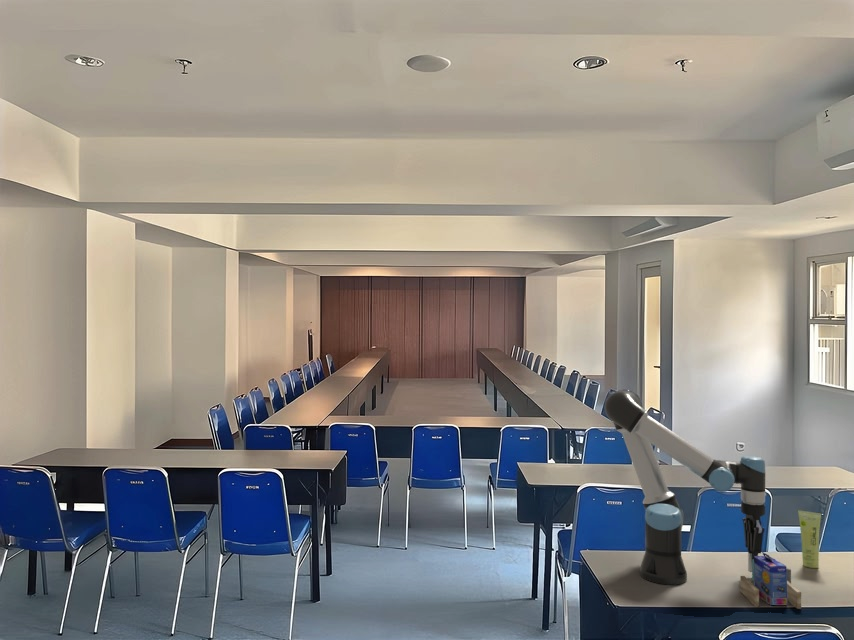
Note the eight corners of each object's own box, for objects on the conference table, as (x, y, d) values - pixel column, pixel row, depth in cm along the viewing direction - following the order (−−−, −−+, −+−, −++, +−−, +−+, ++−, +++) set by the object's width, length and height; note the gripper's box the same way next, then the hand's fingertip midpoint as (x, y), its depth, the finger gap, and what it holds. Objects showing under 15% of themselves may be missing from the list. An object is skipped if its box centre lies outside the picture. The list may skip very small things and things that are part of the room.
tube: (805, 568, 235) (805, 513, 236) (798, 563, 240) (797, 509, 241) (821, 568, 235) (821, 513, 235) (813, 564, 240) (813, 510, 240)
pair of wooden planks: (754, 606, 200) (754, 589, 201) (740, 591, 212) (740, 575, 213) (801, 608, 199) (801, 592, 199) (784, 593, 211) (784, 577, 211)
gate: (792, 593, 211) (792, 569, 212) (789, 593, 211) (789, 570, 211) (754, 579, 223) (754, 557, 223) (751, 580, 222) (751, 558, 223)
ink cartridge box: (752, 594, 210) (752, 548, 211) (769, 593, 211) (769, 548, 211) (770, 606, 201) (770, 558, 201) (788, 606, 201) (788, 558, 201)
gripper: (772, 507, 219) (772, 579, 219) (756, 498, 232) (757, 565, 232) (749, 506, 220) (749, 577, 220) (734, 497, 233) (734, 564, 232)
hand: (753, 571), depth 226 cm, fingers closed
